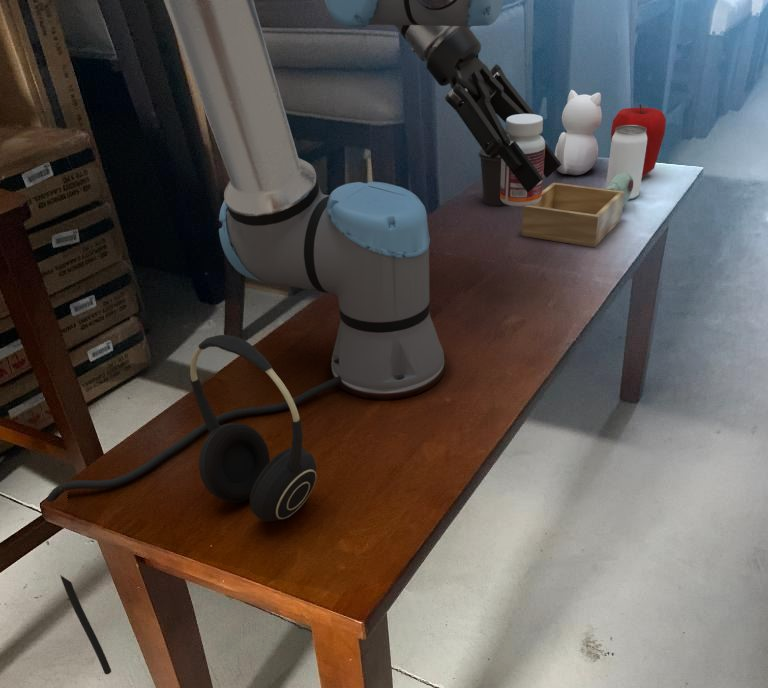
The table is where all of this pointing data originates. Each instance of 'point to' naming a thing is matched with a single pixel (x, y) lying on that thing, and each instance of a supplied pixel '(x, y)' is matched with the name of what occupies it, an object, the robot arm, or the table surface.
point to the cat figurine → (579, 134)
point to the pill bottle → (533, 146)
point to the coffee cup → (491, 178)
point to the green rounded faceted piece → (622, 184)
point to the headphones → (252, 450)
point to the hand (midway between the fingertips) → (544, 178)
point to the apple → (654, 132)
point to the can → (628, 155)
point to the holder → (573, 214)
